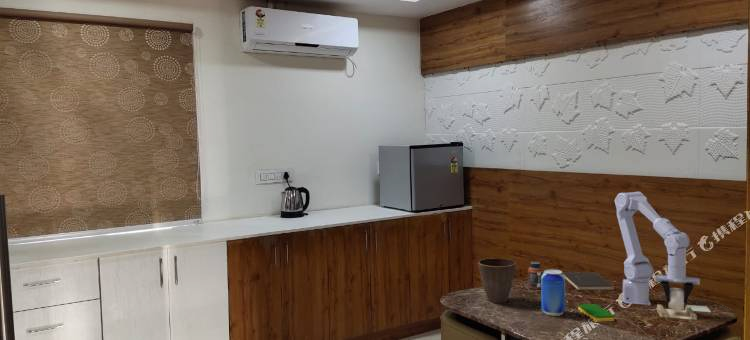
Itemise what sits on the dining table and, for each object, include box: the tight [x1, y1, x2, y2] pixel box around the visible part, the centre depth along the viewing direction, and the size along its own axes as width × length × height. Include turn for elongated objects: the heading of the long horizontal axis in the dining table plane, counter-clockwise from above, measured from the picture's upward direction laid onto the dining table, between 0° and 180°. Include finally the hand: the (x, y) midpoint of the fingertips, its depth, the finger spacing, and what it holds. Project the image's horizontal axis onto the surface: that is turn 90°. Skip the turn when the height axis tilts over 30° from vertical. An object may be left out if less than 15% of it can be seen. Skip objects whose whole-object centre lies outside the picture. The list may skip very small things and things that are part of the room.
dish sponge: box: [577, 303, 615, 323], centre depth 198 cm, size 7×14×2 cm, turn 5°
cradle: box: [655, 303, 699, 321], centre depth 196 cm, size 12×10×2 cm
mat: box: [685, 304, 712, 313], centre depth 201 cm, size 7×7×1 cm
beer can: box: [541, 268, 566, 317], centre depth 201 cm, size 8×8×16 cm
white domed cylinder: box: [668, 287, 685, 311], centre depth 196 cm, size 5×6×7 cm
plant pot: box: [478, 257, 517, 304], centre depth 217 cm, size 15×15×16 cm
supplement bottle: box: [527, 261, 543, 290], centre depth 234 cm, size 6×6×11 cm
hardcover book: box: [562, 271, 616, 291], centre depth 241 cm, size 16×23×2 cm
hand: (676, 302), depth 196 cm, fingers closed on white domed cylinder, 5 cm apart
